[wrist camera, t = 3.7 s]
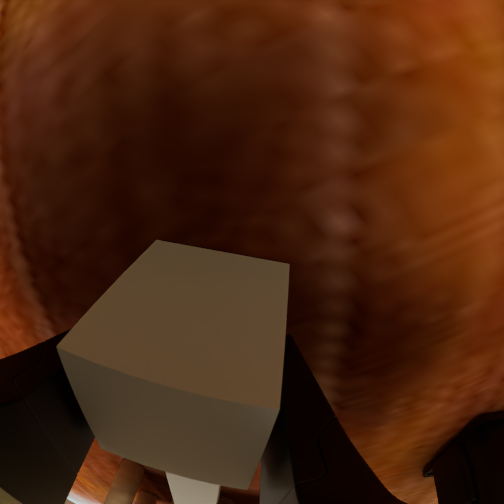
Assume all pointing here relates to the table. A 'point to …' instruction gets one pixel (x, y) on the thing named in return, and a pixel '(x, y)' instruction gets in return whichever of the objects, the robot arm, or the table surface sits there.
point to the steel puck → (221, 500)
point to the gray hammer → (184, 365)
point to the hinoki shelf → (128, 485)
